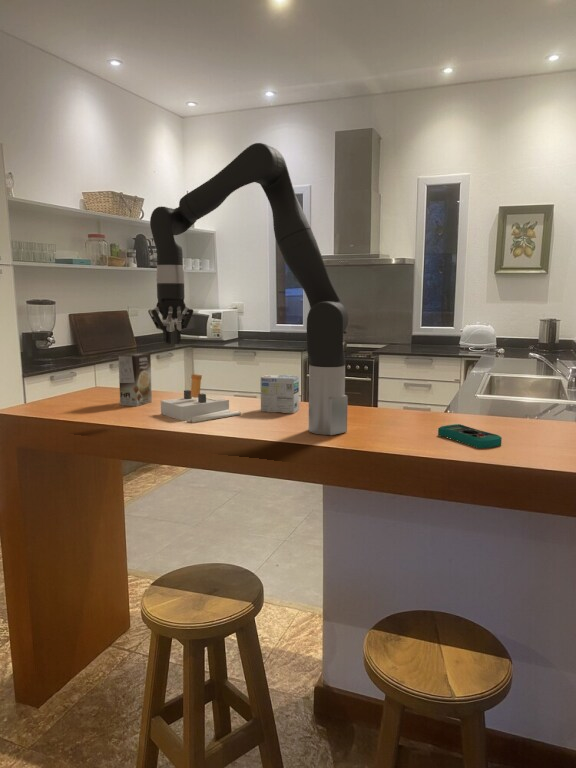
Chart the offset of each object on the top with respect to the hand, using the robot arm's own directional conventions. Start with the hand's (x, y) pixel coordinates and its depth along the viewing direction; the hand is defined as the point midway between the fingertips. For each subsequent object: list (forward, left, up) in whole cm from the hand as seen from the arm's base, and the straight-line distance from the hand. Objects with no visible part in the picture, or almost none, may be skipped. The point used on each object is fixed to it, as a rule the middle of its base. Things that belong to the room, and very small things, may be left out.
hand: (172, 344), depth 161 cm
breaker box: (0, -7, -21) cm, 22 cm away
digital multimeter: (-70, -41, -22) cm, 84 cm away
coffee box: (+26, -1, -21) cm, 34 cm away
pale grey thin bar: (-8, -7, -21) cm, 23 cm away
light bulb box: (-13, -29, -21) cm, 38 cm away
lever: (0, -7, -17) cm, 18 cm away
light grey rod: (-10, -8, -21) cm, 25 cm away
